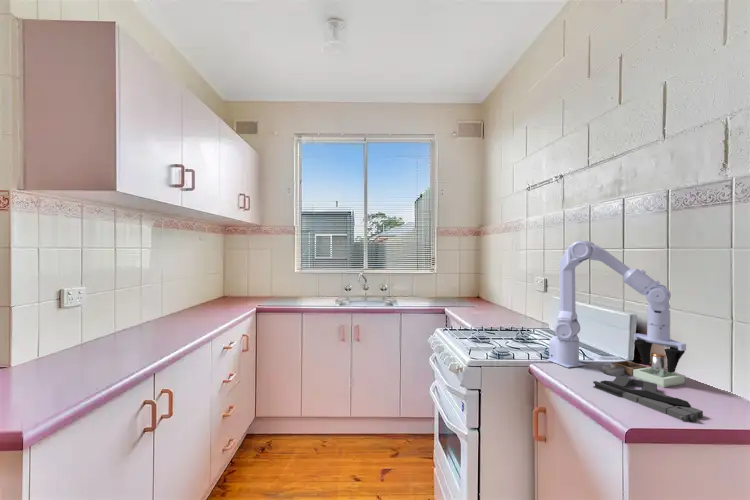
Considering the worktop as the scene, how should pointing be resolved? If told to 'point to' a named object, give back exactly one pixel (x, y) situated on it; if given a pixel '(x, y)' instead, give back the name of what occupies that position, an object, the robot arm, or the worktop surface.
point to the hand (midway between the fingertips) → (658, 368)
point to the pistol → (649, 397)
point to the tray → (663, 382)
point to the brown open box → (621, 368)
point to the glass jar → (658, 364)
